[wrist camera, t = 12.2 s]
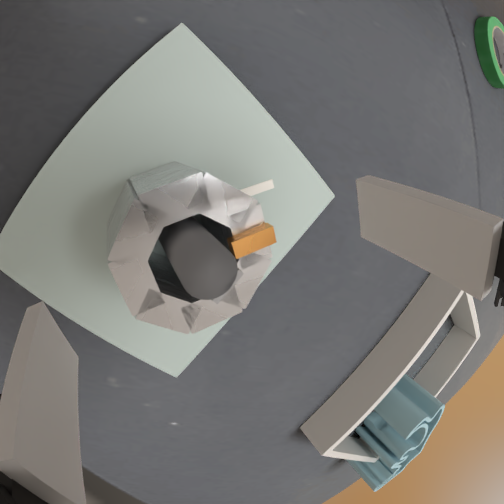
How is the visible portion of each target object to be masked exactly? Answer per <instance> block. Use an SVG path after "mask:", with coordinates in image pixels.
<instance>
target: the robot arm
mask: <svg viewBox="0 0 504 504" xmlns="http://www.w3.org/2000/svg"><path fill="white" fill-rule="evenodd" d="M356 186H357V196H358V206H359V217H360V230H361V237H362V238H364V239H366V240H368V241H370V242H372V243H374V244H376V245H378V246H380V247H382V248H384V249H386V250H388V251H390V252H392V253H394V254H396V255H398V256H400V257H402V258H403V259H405V260H407V261H409V262H411V263H413V264H415V265H417V266H419V267H421V268H422V269H424V270H426V271H428V272H430V273H432V274H434V275H435V276H437V277H439V278H441V279H443V280H445V281H446V282H448V283H450V284H452V285H454V286H455V287H457V288H459V289H461V290H462V291H464V292H466V293H468V294H469V295H471V296H473V297H475V298H476V299H478V300H480V301H482V300H483V299H484V298H485V297H486V296H487V295H488V294H489V293H490V292H491V289H492V284H493V280H494V276H496V277H498V278H500V280H499V285H498V289H497V293H496V297H495V301H494V304H495V307H497V306H498V302H499V299H500V298H502V297H503V298H502V302H501V306H504V222H503V218H500V217H498V216H495V215H492V214H490V213H487V212H484V211H482V210H479V209H476V208H473V207H471V206H468V205H465V204H462V203H459V202H456V201H453V200H450V199H447V198H444V197H441V196H438V195H435V194H432V193H429V192H426V191H422V190H419V189H416V188H413V187H409V186H406V185H402V184H399V183H396V182H392V181H388V180H385V179H381V178H378V177H374V176H370V175H367V176H364V177H361V178H358V179H356ZM78 361H79V357H78V356H77V354H76V353H75V351H74V350H73V348H72V347H71V345H70V344H69V342H68V341H67V339H66V338H65V336H64V335H63V333H62V332H61V330H60V328H59V327H58V325H57V324H56V322H55V320H54V319H53V317H52V315H51V314H50V312H49V310H48V309H47V307H46V305H45V303H44V302H43V301H42V302H39V303H37V304H35V305H33V306H30V307H28V308H27V309H26V312H25V315H24V318H23V321H22V324H21V327H20V330H19V333H18V336H17V339H16V342H15V346H14V349H13V352H12V356H11V359H10V363H9V367H8V370H7V374H6V378H5V382H4V387H3V391H2V394H0V504H86V497H85V490H84V482H83V473H82V464H81V453H80V439H79V418H78Z"/></svg>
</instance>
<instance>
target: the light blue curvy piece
mask: <svg viewBox="0 0 504 504" xmlns="http://www.w3.org/2000/svg"><path fill="white" fill-rule="evenodd" d="M444 408H445V405H444V404H443V403H441V402H440V401H439V400H438V399H436V398H435V397H434V396H433V395H431V394H430V393H429V392H428V391H426V390H425V389H424V388H423V387H421V386H420V385H419V384H418V383H416V382H415V381H414V380H413V379H411V378H410V377H409V376H408V375H406V374H404V375H403V377H402V378H401V379H400V380H399V381H398V383H397V384H396V385H395V386H394V387H393V388H392V389H391V391H390V392H389V393H388V394H387V395H386V396H385V397H384V398H383V400H382V401H381V402H380V403H379V404H378V405H377V406H376V407H375V408H374V410H375V411H376V412H372V413H371V414H369V415H368V416H367V417H366V419H365V420H364V424H365V425H366V426H365V427H362V426H359V427H357V428H356V433H357V434H358V435H359V436H360V437H361V438H362V439H363V440H364V441H365V442H366V443H367V444H368V445H369V446H370V447H371V448H372V449H373V450H374V451H375V452H376V454H377V455H378V456H379V457H380V458H379V459H378V460H377V461H376V462H375V463H373V462H364V461H355V460H348V459H346V460H347V461H348V463H349V464H350V465H351V466H352V467H353V468H354V469H355V471H356V472H357V473H358V474H359V475H360V476H361V477H362V478H363V480H364V481H365V482H366V483H367V484H368V485H369V486H370V487H371V488H372V490H373V491H377V490H379V489H380V488H381V487H382V486H384V485H385V484H386V483H387V482H389V481H390V480H391V479H392V478H394V477H395V476H396V475H398V474H399V473H400V472H401V471H403V469H404V468H405V467H406V465H407V464H408V463H409V462H410V461H411V460H412V459H414V458H415V457H416V456H417V455H418V454H419V453H420V452H421V451H422V449H423V448H424V445H425V443H426V441H427V439H428V438H429V436H430V434H431V433H432V431H433V429H434V428H435V426H436V425H437V423H438V421H439V420H440V418H441V416H442V413H443V411H444Z"/></svg>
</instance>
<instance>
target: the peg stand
mask: <svg viewBox="0 0 504 504" xmlns="http://www.w3.org/2000/svg"><path fill="white" fill-rule="evenodd" d="M173 161H174V162H179V163H182V164H185V165H187V166H190V167H193V168H196V169H198V170H201V171H204V172H206V173H208V174H210V175H212V176H214V177H216V178H218V179H219V180H221V181H223V182H225V183H227V184H229V185H231V186H232V187H234V188H236V189H238V190H240V191H242V192H243V193H245V194H247V195H249V196H251V197H253V198H254V199H256V200H258V203H260V204H261V208H262V212H263V217H264V221H265V223H269V224H270V225H272V226H273V227H274V232H275V237H276V241H277V242H276V243H274V244H272V245H270V248H271V252H272V258H269V259H270V260H272V262H271V263H270V265H269V267H268V269H267V271H266V273H265V274H264V276H263V278H262V280H261V282H260V284H261V283H262V281H263V280H264V279H265V278H266V277H267V276H268V274H269V273H270V272H271V271H272V270H273V269H274V268H275V266H276V265H277V264H278V263H279V262H280V261H281V259H282V258H283V257H284V256H285V255H286V254H287V252H288V251H289V250H290V249H291V248H292V247H293V245H294V244H295V243H296V242H297V241H298V240H299V238H300V237H301V236H302V235H303V234H304V232H305V231H306V230H307V229H308V228H309V227H310V225H311V224H312V223H313V222H314V221H315V219H316V218H317V217H318V216H319V215H320V214H321V212H322V211H323V210H324V209H325V208H326V206H327V205H328V204H329V203H330V202H331V200H332V199H333V198H334V197H335V195H334V194H333V193H332V191H331V190H330V189H329V187H328V186H327V185H326V183H325V182H324V181H323V180H322V178H321V177H320V176H319V174H318V173H317V172H316V170H315V169H314V168H313V167H312V165H311V164H310V163H309V162H308V160H307V159H306V158H305V157H304V155H303V154H302V153H301V152H300V150H299V149H298V148H297V147H296V145H295V144H294V143H293V142H292V141H291V139H290V138H289V137H288V136H287V134H286V133H285V132H284V131H283V130H282V129H281V127H280V126H279V125H278V124H277V123H276V121H275V120H274V119H273V118H272V117H271V116H270V114H269V113H268V112H267V111H266V110H265V109H264V108H263V106H262V105H261V104H260V103H259V102H258V101H257V100H256V98H255V97H254V96H253V95H252V94H251V93H250V92H249V91H248V90H247V89H246V87H245V86H244V85H243V84H242V83H241V82H240V81H239V80H238V79H237V78H236V77H235V76H234V74H233V73H232V72H231V71H230V70H229V69H228V68H227V67H226V66H225V65H224V64H223V63H222V62H221V61H220V60H219V59H218V58H217V57H216V56H215V55H214V54H213V53H212V52H211V51H210V50H209V49H208V48H207V47H206V46H205V45H204V44H203V43H202V42H201V41H200V40H199V39H198V38H197V37H196V36H195V35H194V34H193V33H192V32H191V31H190V30H189V29H188V28H187V27H186V26H185V25H184V24H183V23H181V24H180V25H179V26H177V27H176V28H175V29H174V30H172V31H171V32H170V33H169V34H167V35H166V36H165V37H164V38H163V39H161V40H160V41H159V42H158V43H157V44H155V45H154V46H153V47H152V48H151V49H150V50H149V51H147V52H146V53H145V54H144V55H143V56H142V57H141V58H140V59H139V60H137V61H136V62H135V63H134V64H133V65H132V66H131V67H130V68H129V69H128V70H127V71H126V72H125V73H124V74H123V75H122V76H121V77H120V78H119V79H118V80H117V81H116V82H115V83H114V84H113V85H112V86H111V87H110V88H109V89H108V90H107V91H106V92H105V93H104V94H103V95H102V96H101V97H100V98H99V99H98V100H97V101H96V103H95V104H94V105H93V106H92V107H91V108H90V109H89V110H88V111H87V113H86V114H85V115H84V116H83V117H82V118H81V119H80V121H79V122H78V123H77V124H76V125H75V126H74V128H73V129H72V130H71V131H70V132H69V134H68V135H67V136H66V137H65V139H64V140H63V141H62V142H61V144H60V145H59V146H58V148H57V149H56V150H55V151H54V153H53V154H52V155H51V157H50V158H49V159H48V161H47V162H46V163H45V165H44V166H43V168H42V169H41V170H40V172H39V173H38V175H37V176H36V177H35V179H34V180H33V182H32V183H31V185H30V186H29V188H28V189H27V191H26V192H25V194H24V195H23V197H22V198H21V200H20V202H19V203H18V205H17V206H16V208H15V210H14V211H13V213H12V215H11V216H10V218H9V220H8V221H7V223H6V225H5V226H4V228H3V230H2V232H1V233H0V270H1V271H3V272H4V273H5V274H7V275H8V276H9V277H11V278H12V279H13V280H15V281H16V282H17V283H19V284H20V285H21V286H23V287H24V288H25V289H27V290H28V291H30V292H31V293H32V294H34V295H35V296H37V297H38V298H39V299H41V300H42V301H44V302H45V303H47V304H48V305H50V306H51V307H53V308H54V309H56V310H57V311H59V312H60V313H62V314H63V315H65V316H66V317H68V318H69V319H71V320H73V321H74V322H76V323H77V324H79V325H81V326H82V327H84V328H85V329H87V330H89V331H90V332H92V333H94V334H95V335H97V336H99V337H101V338H102V339H104V340H106V341H107V342H109V343H111V344H113V345H115V346H116V347H118V348H120V349H122V350H123V351H125V352H127V353H129V354H131V355H133V356H135V357H136V358H138V359H140V360H142V361H144V362H146V363H148V364H150V365H152V366H154V367H156V368H158V369H160V370H162V371H164V372H166V373H168V374H170V375H172V376H174V377H176V378H177V377H178V376H179V375H180V373H181V372H182V371H183V370H184V369H185V368H186V367H187V366H188V365H189V364H190V362H191V361H192V360H193V359H194V358H195V357H196V356H197V355H198V354H199V353H200V351H201V350H202V349H203V348H204V347H205V346H206V345H207V344H208V343H209V341H210V340H211V339H212V338H213V337H214V336H215V335H216V334H217V332H218V331H219V330H220V329H221V328H222V327H223V326H224V325H225V323H226V322H227V321H228V320H229V319H230V318H231V317H230V318H228V319H225V320H223V321H221V322H219V323H216V324H214V325H212V326H210V327H207V328H205V329H203V330H201V331H198V332H196V333H194V334H192V333H191V331H190V332H189V334H184V333H181V332H177V331H174V330H170V329H167V328H163V327H160V326H157V325H153V324H150V323H147V322H143V321H140V320H137V319H135V316H132V314H131V312H130V310H129V309H128V307H127V305H126V302H125V300H124V298H123V296H122V294H121V292H120V290H119V288H118V286H117V284H116V282H115V280H114V277H113V275H112V273H111V271H110V269H109V266H108V264H107V222H108V220H109V217H110V215H111V213H112V210H113V208H114V206H115V204H116V202H117V199H118V197H119V195H120V193H121V191H122V189H123V186H124V184H125V182H126V180H128V181H130V179H129V177H132V176H134V175H137V174H140V173H142V172H145V171H148V170H151V169H153V168H156V167H159V166H162V165H165V164H168V163H170V162H173ZM153 252H155V253H158V254H160V255H163V256H165V257H168V259H169V261H170V262H171V264H172V266H173V268H174V270H175V272H176V274H177V276H178V277H179V279H180V281H181V283H182V285H183V287H184V288H185V290H186V291H187V292H188V293H189V294H190V295H191V296H193V297H195V298H197V299H201V300H210V299H211V300H212V301H213V302H215V303H216V304H218V303H219V302H220V301H221V300H222V299H223V297H224V296H225V295H226V294H227V293H228V292H229V291H230V289H231V288H232V287H233V286H234V285H235V284H236V283H237V281H238V280H239V279H240V278H241V277H242V276H243V274H244V273H243V272H242V271H241V270H240V269H239V268H238V267H237V262H236V259H235V257H234V256H233V254H232V253H231V252H230V251H229V250H228V249H227V248H226V247H225V246H223V245H222V244H221V243H220V242H219V241H218V240H217V239H216V238H215V237H214V236H213V235H212V234H211V233H210V232H208V231H207V230H206V229H205V228H204V227H203V226H202V223H201V220H200V216H199V214H196V215H193V216H191V217H188V218H186V219H183V220H180V221H178V222H175V223H173V224H170V225H168V226H165V227H163V229H162V231H161V234H160V236H159V238H158V240H157V242H156V244H155V246H154V248H153ZM260 284H259V285H260ZM259 285H258V286H259Z"/></svg>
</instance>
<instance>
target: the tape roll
mask: <svg viewBox="0 0 504 504" xmlns="http://www.w3.org/2000/svg"><path fill="white" fill-rule="evenodd" d="M474 34H475V44H476V49H477V54H478V58H479V61H480V64H481V67H482V70H483V72H484V75H485V77H486V78H487V80H488V82H489V83H490V84H491V85H492V86H493V87H495V88H504V27H503V25H502V24H501V22H500V21H499V20H498V19H497V18H495V17H479V18H478V19H477V20H476V23H475V30H474ZM493 37H494V39H495V41H496V44H497V47H498V51H499V56H500V67H499V64H498V61H497V58H496V54H495V49H494V44H493Z"/></svg>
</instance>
